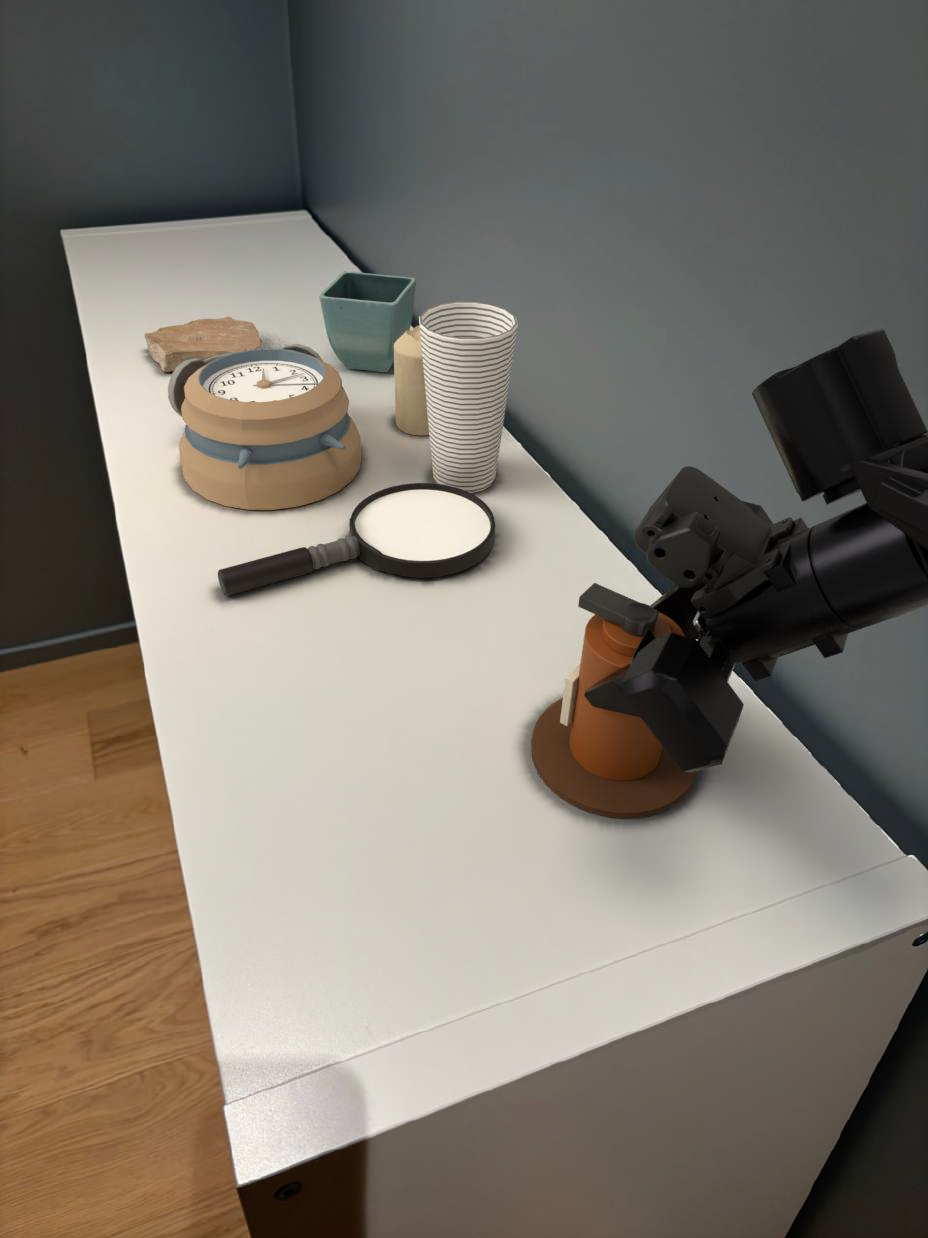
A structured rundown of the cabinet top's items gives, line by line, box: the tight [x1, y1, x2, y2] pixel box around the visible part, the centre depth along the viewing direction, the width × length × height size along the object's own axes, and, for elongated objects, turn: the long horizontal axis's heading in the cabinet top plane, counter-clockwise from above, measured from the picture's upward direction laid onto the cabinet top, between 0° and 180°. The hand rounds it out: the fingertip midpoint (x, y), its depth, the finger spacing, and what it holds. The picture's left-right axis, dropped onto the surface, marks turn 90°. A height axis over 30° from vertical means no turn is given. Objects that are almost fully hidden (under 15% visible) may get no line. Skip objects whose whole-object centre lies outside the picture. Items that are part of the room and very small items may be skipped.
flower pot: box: [318, 271, 417, 373], centre depth 105 cm, size 9×9×9 cm
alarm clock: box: [167, 343, 362, 511], centre depth 89 cm, size 17×9×23 cm
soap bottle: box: [560, 582, 684, 781], centre depth 58 cm, size 7×6×11 cm
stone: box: [143, 316, 263, 372], centre depth 107 cm, size 13×12×2 cm
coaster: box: [530, 697, 698, 819], centre depth 61 cm, size 11×11×1 cm
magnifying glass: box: [217, 482, 496, 597], centre depth 77 cm, size 12×24×2 cm, turn 118°
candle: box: [393, 325, 429, 436], centre depth 93 cm, size 6×6×10 cm
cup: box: [418, 301, 519, 494], centre depth 83 cm, size 8×8×16 cm
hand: (607, 667), depth 57 cm, fingers closed on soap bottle, 6 cm apart
